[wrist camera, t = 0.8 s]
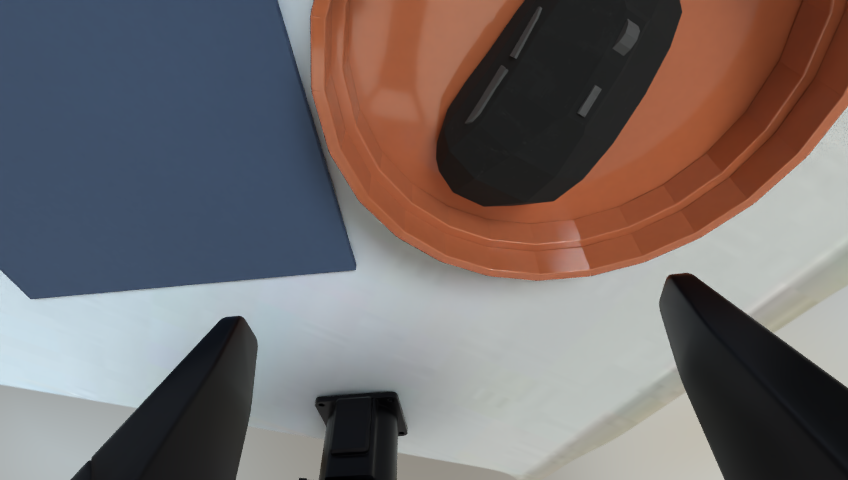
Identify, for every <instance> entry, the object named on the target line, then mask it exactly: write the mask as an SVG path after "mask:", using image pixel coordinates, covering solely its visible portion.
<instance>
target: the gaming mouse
mask: <svg viewBox="0 0 848 480" xmlns="http://www.w3.org/2000/svg"><path fill="white" fill-rule="evenodd" d="M681 15H682V8H681V3H680V0H525V1H524V2H523V3H522V5H521V6H520V7H519V8H518V10H517V11H516V13H515V14H514V15H513V17H512V18H511V20H510V21H509V23H508V24H507V25H506V27H505V28H504V30H503V31H502V33H501V34H500V36H499V37H498V38H497V40H496V41H495V43H494V44H493V46H492V47H491V49H490V50H489V51H488V53H487V54H486V56H485V57H484V58H483V59H482V61H481V62H480V63H479V65H478V66H477V67H476V69H475V70H474V71H473V73H472V74H471V75H470V77H469V78H468V79H467V81H466V82H465V84H464V85H463V87H462V88H461V90H460V91H459V93H458V94H457V96H456V97H455V99H454V100H453V102H452V103H451V105H450V106H449V108H448V109H447V112H446V116H445V119H444V122H443V125H442V128H441V131H440V134H439V137H438V140H437V147H436V161H437V165H438V170H439V172H440V174H441V175H442V177H443V178H444V180H445V181H446V183H447V184H448V186H449V187H450V189H451V190H452V192H453V193H455V194H457V195H459V196H461V197H464V198H466V199H468V200H470V201H472V202H474V203H477V204H479V205H481V206H483V207H491V206H516V205H525V204H534V203H544V202H553V201H555V200H556V199H558V198H559V197H560V196H562V195H563V194H564V193H566V192H567V191H568V190H570V189H571V188H572V187H574V186H575V185H576V184H578V183H579V182H580V181H582V180H583V179H584V178H585V177H586V175H587V174H588V173H589V172H590V171H591V169H592V168H593V167H594V166H595V165H596V163H597V162H598V161H599V160H600V159H601V157H602V156H603V155H604V154H605V153H606V152H607V150H608V149H609V148H610V147H611V146H612V144H613V143H614V141H615V140H616V138H617V137H618V135H619V134H620V132H621V131H622V129H623V128H624V126H625V125H626V123H627V122H628V120H629V119H630V117H631V116H632V114H633V113H634V111H635V110H636V108H637V106H638V105H639V103H640V102H641V100H642V99H643V97H644V96H645V94H646V92H647V90H648V89H649V87H650V85H651V83H652V81H653V79H654V77H655V75H656V73H657V72H658V70H659V68H660V66H661V64H662V62H663V60H664V58H665V57H666V55H667V53H668V51H669V49H670V47H671V44H672V41H673V38H674V35H675V32H676V29H677V27H678V24H679V21H680V18H681Z"/></svg>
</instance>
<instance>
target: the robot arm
mask: <svg viewBox="0 0 848 480" xmlns="http://www.w3.org/2000/svg"><path fill="white" fill-rule="evenodd" d="M659 307H660V312H661V316H662V319H663V322H664V326H665V329H666V332H667V336H668V339H669V342H670V345H671V349H672V352H673V355H674V359H675V362H676V365H677V368H678V371H679V375H680V378H681V380H682V383H683V385H684V388H685V390H686V392H687V395H688V397H689V399H690V401H691V404H692V406H693V408H694V410H695V413H696V415H697V417H698V419H699V422H700V424H701V427H702V429H703V431H704V433H705V436H706V438H707V440H708V442H709V445H710V447H711V450H712V452H713V454H714V456H715V459H716V461H717V463H718V466H719V468H720V470H721V472H722V474H723V477H724V479H725V480H848V388H847V387H846V386H844V385H843V384H842V383H840V382H839V381H838V380H836V379H835V378H833V377H832V376H831V375H829V374H828V373H827V372H825V371H824V370H822V369H821V368H820V367H818V366H817V365H816V364H814V363H813V362H812V361H810V360H808V359H807V358H806V357H804V356H803V355H802V354H801V353H799V352H798V351H796V350H795V349H794V348H792V347H791V346H789V345H788V344H787V343H785V342H784V341H783V340H781V339H780V338H779V337H777V336H776V335H775V334H773V333H772V332H770V331H769V330H768V329H766V328H765V327H764V326H762V325H761V324H760V323H758V322H757V321H755V320H754V319H753V318H751V317H750V316H749V315H747V314H746V313H744V312H743V311H742V310H740V309H739V308H738V307H736V306H735V305H734V304H732V303H731V302H729V301H728V300H727V299H725V298H724V297H723V296H721V295H720V294H719V293H717V292H716V291H714V290H713V289H712V288H710V287H709V286H708V285H706V284H705V283H703V282H702V281H701V280H699V279H698V278H697V277H695V276H694V275H692V274H689V273H682V274H672V275H669V276H668V277H667V279H666V281H665V284H664V288H663V291H662V294H661V297H660V301H659ZM257 349H258V344H257V339H256V337H255V335H254V333H253V332H252V330H251V328H250V327H249V325H248V324H247V322H246V320H245V319H244V318H243V317H241V316H233V317H225V318H223V319H221V320H220V321H219V322H218V323H217V324H216V325H215V326H214V327H213V328H212V329H211V330H210V332H209V333H208V334H207V335H206V336H205V337H204V338H203V339H202V340H201V341H200V342H199V343H198V344H197V345H196V346H195V348H194V349H193V350H192V351H191V352H190V353H189V354H188V355H187V356H186V357H185V358H184V359H183V360H182V361H181V363H180V364H179V365H178V366H177V367H176V368H175V369H174V370H173V371H172V372H171V373H170V374H169V375H168V376H167V377H166V379H165V380H164V381H163V382H162V383H161V384H160V385H159V386H158V387H157V388H156V389H155V390H154V391H153V392H152V393H151V395H150V396H149V397H148V398H147V399H146V400H145V401H144V402H143V403H142V404H141V405H140V406H139V407H138V408H137V409H136V411H135V412H134V413H133V414H132V415H131V416H130V417H129V418H128V419H127V420H126V421H125V423H123V424H122V426H121V427H120V428H119V429H118V430H117V431H116V432H115V433H114V434H113V435H112V436H111V437H110V438H109V439H108V440H107V442H106V443H105V444H104V445H103V446H102V447H101V448H100V449H99V450H98V451H97V452H96V453H95V455H94V456H93V457H92V459H91V461H88V462H87V463H86V464H85V465H84V466H83V467H82V468H81V469H80V470H79V471H78V472H77V473H76V474H75V476H74V477H73V478H72V479H71V480H236V475H237V471H238V466H239V462H240V457H241V453H242V449H243V444H244V440H245V435H246V431H247V426H248V422H249V417H250V411H251V404H252V395H253V386H254V377H255V368H256V358H257ZM315 406H316V408H317V410H318V412H319V413H320V415H321V417H322V419H323V421H324V423H325V425H326V434H325V441H324V448H323V455H322V462H321V469H320V476H319V480H396V479H397V478H396V477H397V445H398V436H404V435H406V434H407V425H406V422H405V418H404V415H403V411H402V408H401V404H400V401H399V398H398V395H397V393H394V392H384V393H370V394H356V395H342V396H328V397H318V398H317V399H316V402H315ZM299 480H307V479H306V478H299Z"/></svg>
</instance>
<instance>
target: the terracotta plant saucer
mask: <svg viewBox="0 0 848 480" xmlns="http://www.w3.org/2000/svg"><path fill="white" fill-rule="evenodd" d="M524 1H525V0H314V2H313V6H312V9H311V16H310V37H311V89H312V95H313V99H314V102H315V105H316V109H317V112H318V116H319V119H320V123H321V126H322V130H323V133H324V137H325V140H326V144H327V147H328V151H329V152H330V155H331V156H332V158H333V160H334V161H335V163H336V165H337V166H338V168H339V169H340V171H341V173H342V174H343V176H344V178H345V179H346V181H347V183H348V184H349V186H350V187H351V189H352V191H353V192H354V194H355V196H356V197H357V199H358V200H359V201H360V203H361V204H362V205H364V206H365V207H366V208H367V209H368V210H369V211H370V212H371V213H372V214H373V215H374V216H375V217H376V218H377V219H378V220H379V221H380V222H381V223H383V224H384V225H385V226H386V227H387V228H388V229H389V230H390V231H391V232H392V233H393V234H394V235H395V236H396V237H398V238H399V239H401V240H403V241H405V242H407V243H408V244H410V245H412V246H414V247H415V248H417V249H419V250H421V251H422V252H424V253H426V254H428V255H430V256H431V257H433V258H435V259H437V260H438V261H441V262H443V263H447V264H450V265H453V266H456V267H460V268H463V269H466V270H470V271H473V272H476V273H480V274H483V275H486V276H493V277H503V278H514V279H524V280H535V281H538V280H539V281H541V280H553V279H564V278H576V277H587V276H590V275H591V276H593V275H597V274H601V273H605V272H609V271H613V270H617V269H620V268H624V267H628V266H632V265H636V264H640V263H643V262H646V261H649V260H651V259H653V258H656V257H658V256H660V255H662V254H665V253H667V252H669V251H672V250H674V249H676V248H679V247H681V246H683V245H685V244H688V243H690V242H692V241H695V240H697V239H699V238H701V237H702V236H704V235H706V234H707V233H709V232H710V231H712V230H713V229H715V228H717V227H718V226H720V225H721V224H723V223H724V222H726V221H728V220H729V219H731V218H732V217H734V216H735V215H737V214H739V213H740V212H742V211H743V210H745V209H746V208H748V207H750V206H751V205H753V204H754V203H755V202H757V201H758V200H759V199H760V198H761V197H762V196H763V195H765V194H766V193H767V192H768V191H769V190H770V189H771V188H772V187H774V186H775V185H776V184H777V183H778V182H779V181H780V180H781V179H783V178H784V177H785V176H786V175H787V174H788V173H789V172H790V171H792V170H793V169H794V168H795V167H796V166H797V165H798V164H799V163H801V162H802V161H803V160H804V159H805V158H806V157H807V156H808V155H809V154H810V153H811V151H812V150H813V149H814V148H815V146H816V145H817V144H818V143H819V141H820V140H821V139H822V138H823V136H824V135H825V134H826V133H827V131H828V130H829V129H830V128H831V126H832V125H833V124H834V123H835V121H836V120H837V119H838V118H839V116H840V115H841V114H842V113H843V111H844V110H845V109H846V108H847V106H848V0H680V3H681V8H682V15H681V18H680V21H679V24H678V27H677V29H676V32H675V35H674V38H673V41H672V44H671V47H670V49H669V51H668V53H667V55H666V57H665V58H664V60H663V62H662V64H661V66H660V68H659V70H658V72H657V73H656V75H655V77H654V79H653V81H652V83H651V85H650V87H649V89H648V90H647V92H646V94H645V96H644V97H643V99H642V100H641V102H640V103H639V105H638V106H637V108H636V110H635V111H634V113H633V114H632V116H631V117H630V119H629V120H628V122H627V123H626V125H625V126H624V128H623V129H622V131H621V132H620V134H619V135H618V137H617V138H616V140H615V141H614V143H613V144H612V146H611V147H610V148H609V149H608V150H607V152H606V153H605V154H604V155H603V156H602V157H601V159H600V160H599V161H598V162H597V163H596V165H595V166H594V167H593V168H592V169H591V171H590V172H589V173H588V174H587V175H586V177H585V178H584V179H583V180H582V181H580V182H579V183H578V184H576V185H575V186H574V187H572V188H571V189H570V190H568V191H567V192H566V193H564V194H563V195H562V196H560V197H559V198H558V199H556V200H555V201H553V202H544V203H534V204H525V205H516V206H491V207H483V206H481V205H479V204H477V203H474V202H472V201H470V200H468V199H466V198H464V197H461V196H459V195H457V194H455V193H453V192H452V190H451V189H450V187H449V186H448V184H447V183H446V181H445V180H444V178H443V177H442V175H441V174H440V172H439V170H438V165H437V161H436V147H437V140H438V137H439V134H440V131H441V128H442V125H443V122H444V119H445V116H446V112H447V109H448V108H449V106H450V105H451V103H452V102H453V100H454V99H455V97H456V96H457V94H458V93H459V91H460V90H461V88H462V87H463V85H464V84H465V82H466V81H467V79H468V78H469V77H470V75H471V74H472V73H473V71H474V70H475V69H476V67H477V66H478V65H479V63H480V62H481V61H482V59H483V58H484V57H485V56H486V54H487V53H488V51H489V50H490V49H491V47H492V46H493V44H494V43H495V41H496V40H497V38H498V37H499V36H500V34H501V33H502V31H503V30H504V28H505V27H506V25H507V24H508V23H509V21H510V20H511V18H512V17H513V15H514V14H515V13H516V11H517V10H518V8H519V7H520V6H521V5H522V3H523V2H524Z"/></svg>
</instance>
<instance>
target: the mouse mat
mask: <svg viewBox="0 0 848 480" xmlns="http://www.w3.org/2000/svg"><path fill="white" fill-rule="evenodd" d="M0 270H1V271H2V272H3V273H4V274H5V275H6V276H7V277H8V278H9V279H10V280H11V281H12V282H13V283H14V284H16V285H17V286H18V287H19V288H20V289H21V290H22V291H23V292H24V293H25V294H26V295H27V296H28V297H29V298H30V299H39V298H50V297H61V296H72V295H83V294H94V293H105V292H116V291H128V290H139V289H150V288H161V287H172V286H183V285H194V284H205V283H216V282H228V281H239V280H250V279H261V278H272V277H283V276H294V275H305V274H317V273H328V272H339V271H350V270H356V262H355V259H354V256H353V252H352V249H351V246H350V242H349V239H348V236H347V232H346V229H345V226H344V222H343V219H342V216H341V212H340V209H339V205H338V202H337V199H336V195H335V192H334V189H333V185H332V182H331V179H330V175H329V172H328V169H327V165H326V162H325V159H324V155H323V152H322V149H321V145H320V142H319V139H318V135H317V132H316V128H315V125H314V122H313V118H312V115H311V112H310V108H309V105H308V102H307V98H306V95H305V92H304V88H303V85H302V82H301V78H300V75H299V72H298V68H297V65H296V62H295V58H294V55H293V51H292V48H291V45H290V41H289V38H288V35H287V31H286V28H285V25H284V21H283V18H282V15H281V11H280V8H279V5H278V1H277V0H0Z"/></svg>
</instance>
